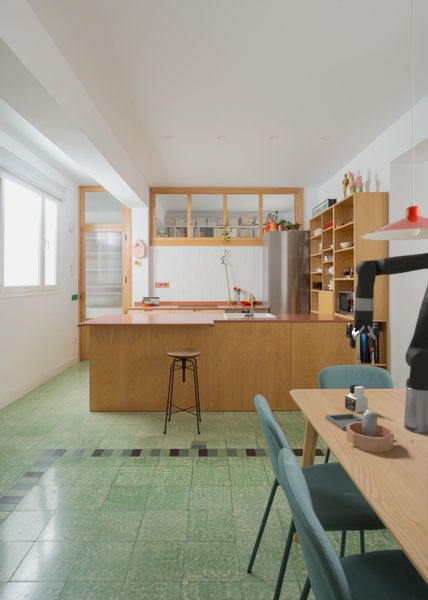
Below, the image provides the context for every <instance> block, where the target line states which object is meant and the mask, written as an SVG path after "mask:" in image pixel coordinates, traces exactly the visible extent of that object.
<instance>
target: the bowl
mask: <svg viewBox="0 0 428 600" xmlns="http://www.w3.org/2000/svg"><path fill="white" fill-rule="evenodd" d="M362 424H363V422H352V423H350V424H348V425H347V428H346V430H345V436H346V437H345V438H346V441H348V443H351V444H353V445H352V447H353V448H355V449H358V450H360V451H364V452H370V453H371V452H372V453H376V454H377V453H378V454H379V453H387V452H390V451H391V450H393V449H394V439H395V438H394V435H395V434H394V431H393V430H392V429H390V428H388V427H387V426H385V425H383V424H378V423H377V435H376V437H368V436H364V435H362Z"/></svg>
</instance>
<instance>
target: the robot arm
mask: <svg viewBox="0 0 428 600" xmlns="http://www.w3.org/2000/svg"><path fill="white" fill-rule="evenodd" d="M420 270H428V252H424V253H418V254H417V253H414V254H408V255H407V254H406V255H397V256H390V257H384V258H382V259H372V260H362V261H360V262H359V263H358V264H357V265H356V267H355V273H356V275H357V285H356V286H355V300H354V306H353V307H354V312H353V320H354V321H353V323H350V322H347V323H346V329H345V330H346V333H345V337H346V338H348V339H349V340H350V342H349V346H350V348H351V349H356V348H357V347H356V345H357V343H356V342H357V341H356V340H357V337H359V335H364V334H365V335H367V336H368V337H369V339H368V348H370V349H374V348H375V343H376V342H375V341H376V339H378V338H380V336H381V335H380V334H381V333H380V323H378V322H374V323H373V321H374V314H375V313H374V310H375V302H374V298H375V296H374V294H375V284H376V277H378V276H388V275H389V276H390V275H397V274H403V273H409V272H415V271H416V272H417V271H420ZM422 298H423V299H422V301H421V305H420V308H419V312H418V317H417V320H416V324H415V328H414V332H413V336H412V337H411V340H410V342H409V345H408V347H407V349H406V353H405V358H404V359H405V362H406V364H407V365H408V366H409V367H410V368H409V377H408V378H406V382H405V400H404V401H405V403H404V404H405V405H404V424H403V427H404V428H405V430H407V431H410V432H413V433H416V434H417V433H418V434H428V284H427V285H426V289H425V291H424V295H423V297H422Z"/></svg>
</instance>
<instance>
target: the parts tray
mask: <svg viewBox="0 0 428 600" xmlns="http://www.w3.org/2000/svg"><path fill="white" fill-rule="evenodd" d="M325 420H326V421H328V422H329V423H331V424H333V425H334V426H335V427H337V428H338V429H339V430H341V431H346V428H347V425H348V424H350V423H352V422H363V418H361V417H360V416H358V415H356V414H355V413H354V412H353V413H351V412H350V413H340V414H326V415H325Z"/></svg>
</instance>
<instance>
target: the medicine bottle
mask: <svg viewBox="0 0 428 600" xmlns="http://www.w3.org/2000/svg"><path fill="white" fill-rule="evenodd" d="M364 393H365V388H364V386H363V385H360V384H351V385H350V386H349V394H345V397H344V399H345V400H344V409H347V410H349V411H351V412H353V413H354V414H355V413H363V412H366V410H367V409H368V405H369V404H368V403H369V397H367V396H365V394H364Z"/></svg>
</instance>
